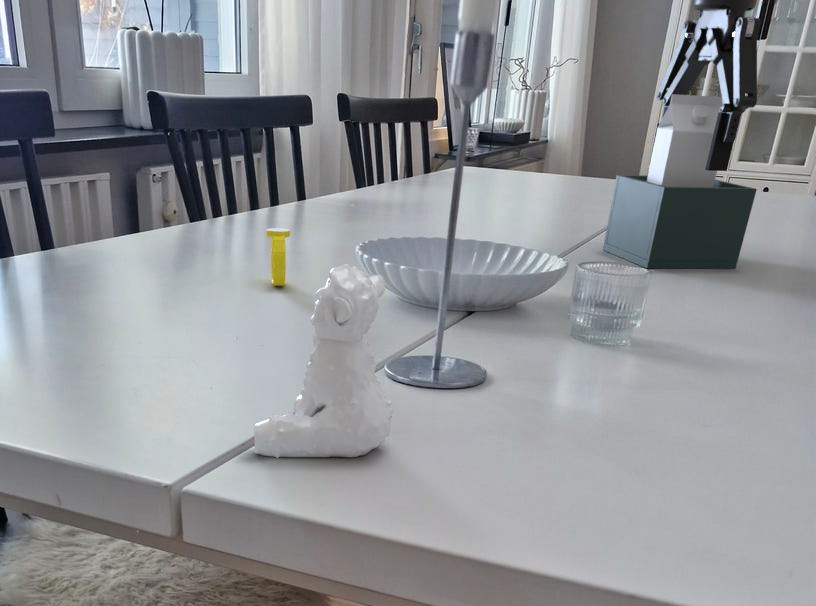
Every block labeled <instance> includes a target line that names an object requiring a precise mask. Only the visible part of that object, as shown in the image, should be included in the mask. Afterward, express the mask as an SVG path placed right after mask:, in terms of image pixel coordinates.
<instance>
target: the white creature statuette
mask: <svg viewBox="0 0 816 606" xmlns="http://www.w3.org/2000/svg"><path fill="white" fill-rule="evenodd" d="M385 291H386V285H385V278H384V277H383V276H382V274H374V275H371V276H369V274H368V273H366V272H364V271H362V270H360V269H359V268H358V267H357V266H355V265H353V266H351V265H350V264H349V263H344V264H343V265H341V266H336V267H333V268H331V270H330V272H329V273H328V278H327V281H326V284H325V286H324V287H321V288H319V289H317V291H316V292H315V293H316V297H317V301H315V303H314V304H315V307H314V308H313V314H312V315H311V317H310V322H311V325H312V326H313V327H314V332H315V335H314V336H313V338H312V340H313V345H314V346H313V347H314V350H313V351H312V352H311V353H310V356H309V359H308V363H307V365H306V370H305V373H304V374H305V378H304V379H303V383H302V384H303V385H302V389H301V390H300V395H299V396H297V397H296V398H295V401H294V403H293V411H294V413H291V412H290V413H289V412H288V413H287V414H284V415H278V414H271V415H270V416H269V418H268V419H265V420H262V421H260V422H258V423H255V424H254V430H253V431H254V433H253V434H254V436H253V437H254V442H253V443H254V454H255V455H261V456H265V457H274V458H276V459H279V458H280V457H281V458H283V457H285V458H330V457H334V458H357V457H360V456H364V455H366V454H369V453H370V452H371V451H372V450H373V449H376V448H377V447H379V446H380V445H382V444H383V443H385V439H386V438H387V437H389V435H390V434H391V422H392V417H393V416H392V414H393V412H394V410H393V408H392V407H391V405H392V401H391V400H390V399H388V398H387V397H386V394H385V391H384V390H383V389H382V387H381V385H380V382H379V380H378V378H377V376H376V368H377V363H376V362H375V354H374V351H373V350H372V349H371V344H370V343H369V341H367V339H366V337H364V335H366V334H367V333H368V331H369V329H370V328H371V326H372V324H373V323H374V322H375V320H376V317H377V314H378V311H379V298H381V297H382V296H383V295H384V293H385Z"/></svg>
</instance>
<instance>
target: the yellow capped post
mask: <svg viewBox="0 0 816 606" xmlns="http://www.w3.org/2000/svg"><path fill="white" fill-rule="evenodd" d="M265 236H266V237H268V238H271V239H270V272H271V273H270V274H271V275H270V277H271V284H272V286H279V287H281V286H285V285H286V263H287V262H286V238H290V237H291V230H290V229H288V228H281V227H279V228H278V227H275V228H274V227H272V228H265Z"/></svg>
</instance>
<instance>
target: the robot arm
mask: <svg viewBox="0 0 816 606" xmlns="http://www.w3.org/2000/svg"><path fill="white" fill-rule="evenodd" d="M757 3H758V0H693V2H692V7H693V10H695V11H699V12H700V14H699V17H698V20H697V19H685V20H684V21H683V24H682V28H681V32H680V36H679V40H678V42H677V44H676V47H675V49H674V52H673V54H672V57H671V59H670V62H669V64H668V67H667V69H666V71H665V73H664V76H663V79H662V81H661V83H660V86H659V88H658V90H657V93H656V100H657V101H661V105H662V106H663V111H662V117H661V119H662V118H663V116H664V114H665V112H666V111H667V109H668V107H669V105H670V102H671V97H672V94H677V95H689V93H690V91H691V90H692V88H693V87H694V84H695V83H696V82H697V80H698V78H699V76H700V75H701V73H702V71H703V70H704V68H705V67H706V66H707V65H709V64H710V63H711V62H712V64H713V65H715V66H716V71H717V77H718V83H719V89H720V97H722V102H723V105H722V107H721V108H720V109H719V112H718V117H717V121H716V125H715V130H714V134H713V138H712V143H711V147H710V151H709V156H708V160H707V164H706V169H705V170H708V171H717V172H727V171H728V168H729V164H730V161H731V155H732V152H733V147H734V143H735V141H736V138H737V134H738V131H739V126H740V123H741V119H742V115H743V113H745V112H746V110H748V109H750V108H752V109H753V108H755V107H756V105H757V103H758V36H759V32H760V31H759V30H760V25H761V19H760V18H758V17H745V15H746V12H752V11H753V10H754V9H755V8H756V6H757ZM723 112H724V113H723Z"/></svg>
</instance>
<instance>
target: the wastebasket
mask: <svg viewBox="0 0 816 606" xmlns="http://www.w3.org/2000/svg"><path fill="white" fill-rule="evenodd" d="M647 177H648V175H645V174H644V175H639V174H636V175H635V174H616V176H615V182H614V187H613V188H614V189H613V193H612V198H611V205H610V209H609V215H608V219H607V226H606V231H605V236H604V240H603V241H604V242H603V247H602V251H604V252H606V253H609V254H612V255H614V256H616V257H619V258H621V259H623V260H626V261H628V262H630V263H632V264H635V265H637V266H639V267H642V268H645V269H647V268H648V269H647V270H649V269H650V270H651V269H652V270H655V269H656V270H658V269H659V270H665V269H667V270H668V269H673V270H675V269H677V270H678V269H681V270H682V269H689V270H690V269H693V270H695V269H698V270H699V269H736V268H737V265H738V261H739V257H740V254H741V250H742V246H743V243H744V238H745V234H746V231H747V227H748V225H749V224H748V223H749V220H750V217H751V212H752V209H753V205H754V201H755V197H756V193H757V191H758V188H756V187H755V188H754V187H752V186H751V187H750V186H746V185H743V184H737V183H732V182H728V181H724V180H720V179H715V182H714V186H713V187H666V186H662V185H658V184H654V183H650V182H647Z"/></svg>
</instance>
